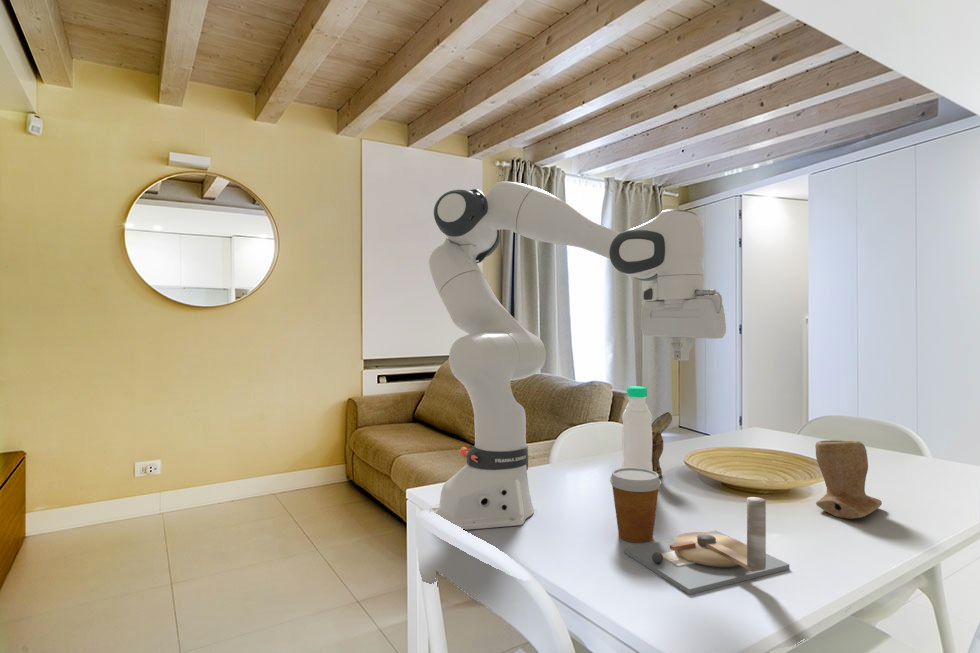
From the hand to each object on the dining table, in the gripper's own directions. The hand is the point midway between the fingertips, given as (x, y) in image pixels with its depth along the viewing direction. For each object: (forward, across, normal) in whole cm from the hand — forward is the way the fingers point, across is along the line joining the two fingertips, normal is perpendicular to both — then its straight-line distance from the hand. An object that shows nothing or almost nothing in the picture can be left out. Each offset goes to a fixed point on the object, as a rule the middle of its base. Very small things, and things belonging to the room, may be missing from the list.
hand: (680, 360), depth 110 cm
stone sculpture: (+33, +30, -16) cm, 48 cm away
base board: (+33, -14, +8) cm, 37 cm away
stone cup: (+33, -8, -38) cm, 51 cm away
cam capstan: (+32, -17, +7) cm, 37 cm away
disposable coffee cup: (+33, -1, +12) cm, 35 cm away
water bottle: (+33, +22, -6) cm, 40 cm away
